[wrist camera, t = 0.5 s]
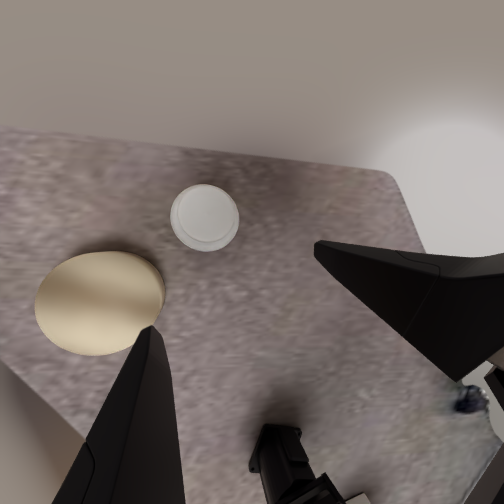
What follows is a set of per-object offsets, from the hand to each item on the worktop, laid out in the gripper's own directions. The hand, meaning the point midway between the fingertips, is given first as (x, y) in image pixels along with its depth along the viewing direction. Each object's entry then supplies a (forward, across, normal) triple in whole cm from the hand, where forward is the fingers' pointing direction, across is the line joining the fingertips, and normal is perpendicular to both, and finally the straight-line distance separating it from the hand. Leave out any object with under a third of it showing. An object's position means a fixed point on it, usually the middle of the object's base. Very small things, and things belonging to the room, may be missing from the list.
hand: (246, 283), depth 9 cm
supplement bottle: (+15, -1, +3) cm, 15 cm away
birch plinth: (+14, +11, +6) cm, 19 cm away
